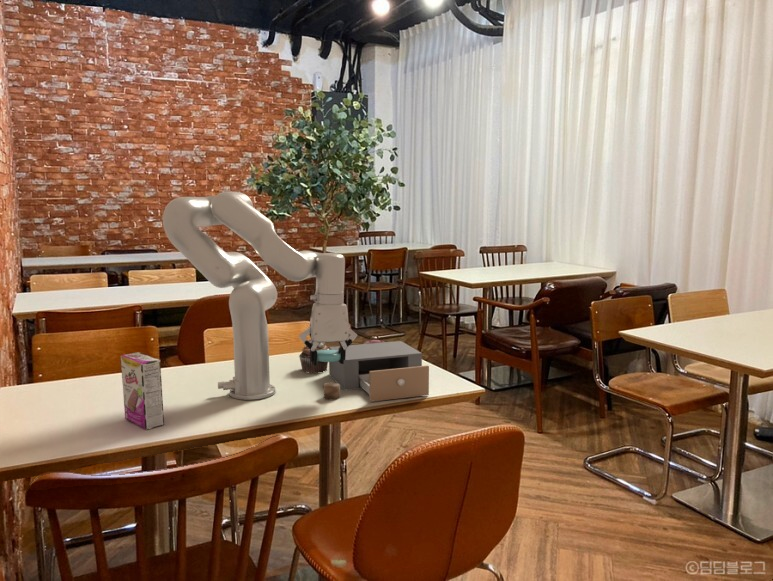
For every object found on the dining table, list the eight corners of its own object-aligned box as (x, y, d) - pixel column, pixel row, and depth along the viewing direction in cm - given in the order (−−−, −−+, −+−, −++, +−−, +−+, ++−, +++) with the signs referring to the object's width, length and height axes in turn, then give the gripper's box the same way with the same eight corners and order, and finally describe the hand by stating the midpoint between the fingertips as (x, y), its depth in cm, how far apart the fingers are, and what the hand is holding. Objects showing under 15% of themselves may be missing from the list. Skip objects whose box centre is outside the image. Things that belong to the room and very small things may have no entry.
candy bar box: (123, 419, 149) (119, 355, 147) (143, 414, 153) (139, 351, 151) (145, 431, 142) (141, 363, 140) (165, 425, 146) (161, 358, 143)
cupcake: (300, 366, 198) (299, 336, 197) (329, 365, 199) (329, 335, 198) (298, 374, 189) (298, 343, 187) (330, 373, 190) (329, 342, 188)
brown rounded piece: (326, 400, 164) (325, 388, 163) (322, 395, 168) (322, 383, 167) (341, 398, 165) (341, 386, 165) (337, 394, 169) (337, 382, 169)
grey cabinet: (421, 381, 181) (421, 353, 180) (344, 390, 173) (344, 360, 172) (401, 367, 197) (401, 341, 195) (329, 374, 189) (328, 347, 187)
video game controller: (389, 361, 211) (390, 341, 213) (388, 358, 207) (389, 338, 209) (361, 360, 212) (362, 341, 214) (359, 357, 208) (361, 337, 210)
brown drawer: (430, 395, 166) (430, 367, 165) (371, 402, 161) (371, 372, 160) (406, 378, 183) (406, 352, 182) (352, 384, 177) (352, 357, 176)
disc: (318, 362, 161) (318, 356, 160) (312, 355, 167) (312, 350, 167) (343, 361, 163) (343, 355, 163) (336, 354, 169) (336, 349, 169)
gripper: (300, 302, 156) (299, 369, 159) (364, 301, 162) (362, 365, 165) (294, 297, 163) (293, 361, 166) (356, 296, 169) (354, 358, 172)
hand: (327, 363), depth 165 cm, fingers closed on disc, 6 cm apart
